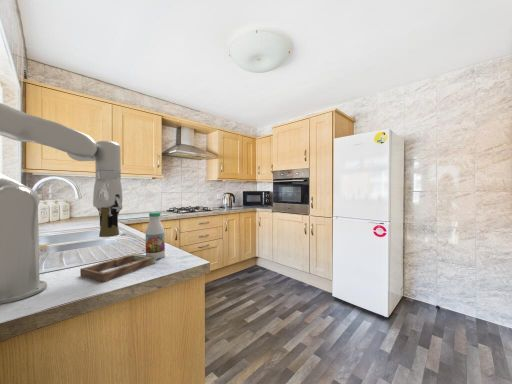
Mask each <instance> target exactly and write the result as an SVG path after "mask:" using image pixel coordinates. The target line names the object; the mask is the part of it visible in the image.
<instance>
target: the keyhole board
mask: <svg viewBox="0 0 512 384" xmlns="http://www.w3.org/2000/svg"><path fill="white" fill-rule="evenodd" d="M155 263H156V259H155V257H153V256H147V255H146V254H140V253H131V254H127V255H123V256H120V257H117V258H113V259H109V260H105V261H103V262H100V263H97V264H92V265H89V266H85V267H83V268H80V271H79V272H80V277H84V278H87V279H90V280H93V281H97V282H99V283H105V282H107V281H110V280H113V279H115V278H119V277H121V276H124V275H126V274H129V273H132V272H135V271H138V270H141V269H143V268H145V267H147V266H151V265H153V264H155ZM115 267H116V268H115ZM111 268H114V269H111ZM108 269H111V270H108ZM105 270H108V271H105ZM101 271H102V272H101ZM103 271H104V272H103Z"/></svg>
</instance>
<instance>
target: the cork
mask: <svg viewBox="0 0 512 384" xmlns="http://www.w3.org/2000/svg"><path fill="white" fill-rule="evenodd" d="M111 207H115V205H113V206H111ZM112 211H113V209H112ZM100 212H101V214H102V220H101V227H100V226H99V227H100V228H99V235H98V237H99V238H110V237H115V236H119V235H120V230H119V225H118V226H117V227H116V226H115V225H112V227H111V228H108V216H109V209H108V208H101V209H100Z"/></svg>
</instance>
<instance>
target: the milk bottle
mask: <svg viewBox="0 0 512 384" xmlns="http://www.w3.org/2000/svg"><path fill="white" fill-rule="evenodd" d="M161 215H162V214H161V212H159V211H154V212H153V211H152V212H149V213H148V216H149V222H148V224H147V227H146V229H145V255H147V256H153V257H155V260H158V259H162V258H164V257H165V255H166V252H165V251H166V248H165V247H166V246H165V245H166V244H165V243H166V242H165V239H166V238H165V236H166V235H165V228H164V225H163V223H162V221H161Z"/></svg>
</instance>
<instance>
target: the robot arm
mask: <svg viewBox="0 0 512 384" xmlns="http://www.w3.org/2000/svg"><path fill="white" fill-rule="evenodd" d="M0 136H2V137H5V138H8V139H10V140H13V141H17V142H21V143H34V144H39V145H43V146H47V147H49V148H53V149H56V150H58V151H61V152H64V153H66V154H67V156H68V157H69V158H71V159H72V160H74V161H77V162H95V163H94V164H95V167H94V168H95V181H94V184H93V195H92V196H93V197H92V199H93V200H92V205H93V207H94V208H95V209H97V211H98V216H99V227H101V220H102V214H101V212H100V209H101V208H108V209H109V216H108V228H111V227H112V225H115V226H116V227H117V226H118V227H119V215H120V214H119V213H120V211H121V210H123V208H124V207H123V189H122V187H123V186H122V182H121V181H122V180H121V178H122V177H121V176H122V175H121V173H122V172H121V171H122V169H121V168H122V167H121V166H122V165H121V163H122V161H121V145H120V144H119V143H117V142H114V141H109V140H99V141H95V140H94V139H93V137H91V136H90V135H88V134H85V133H83V132H80V131H78V130H76V129H73V128H71V127H68V126H67V125H63V124H61V123H60V122H59V123H58V122H56V121H53V120H49V119H45V118H42V117H39V116H36V115H32V114H29V113H26V112H24V111H22V110H19V109H16V108H14V107H11V106H9V105H6V104H4V103H1V102H0ZM40 200H41V199H40V196H39V195H38V193H37V191H35V190H34V189H32V188H31V187H29V186H27V185H25V184H22V183H20V182H19V181H17V180H15V179H12V178H10V177H8V176H6V175H5V174H3V173H1V172H0V304H6V303H11V302H15V301H19V300H24V299H26V298H29V297H32V296H34V295H36V294H39V293H41V292H42V291H44V290H45V289H46V288H47V286H48V283H47V282H46V281H44V280H40V237H39V235H40V234H39V229H40V228H39V226H40V225H39V205H40ZM113 205H115V207H111V206H113ZM112 209H113V211H112Z"/></svg>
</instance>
